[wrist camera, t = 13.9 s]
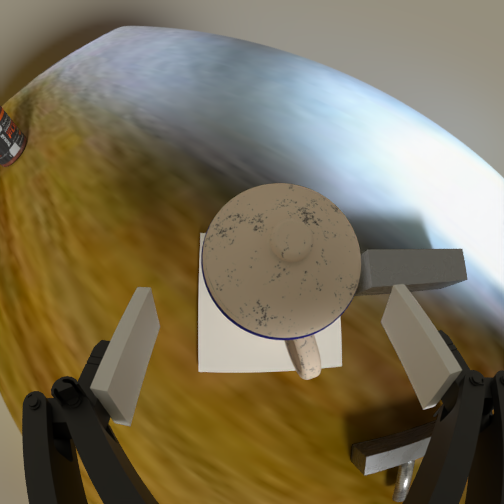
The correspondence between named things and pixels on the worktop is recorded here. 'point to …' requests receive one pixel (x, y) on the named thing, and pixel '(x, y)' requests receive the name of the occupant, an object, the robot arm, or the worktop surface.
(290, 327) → the teacup with lid
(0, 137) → the supplement bottle
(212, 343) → the tile
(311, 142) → the worktop surface
